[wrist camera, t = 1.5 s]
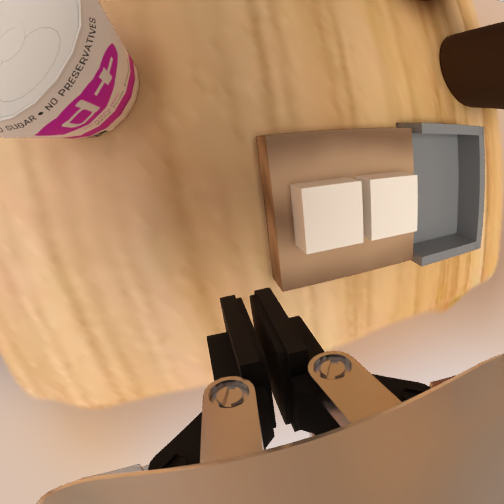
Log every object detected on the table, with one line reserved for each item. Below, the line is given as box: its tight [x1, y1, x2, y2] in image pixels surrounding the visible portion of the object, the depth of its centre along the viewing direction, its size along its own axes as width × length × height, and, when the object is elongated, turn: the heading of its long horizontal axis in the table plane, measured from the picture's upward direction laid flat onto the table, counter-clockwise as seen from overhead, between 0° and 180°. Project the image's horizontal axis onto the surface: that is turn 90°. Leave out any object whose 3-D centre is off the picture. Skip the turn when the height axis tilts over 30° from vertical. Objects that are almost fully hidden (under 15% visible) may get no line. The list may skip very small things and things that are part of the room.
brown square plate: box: [256, 128, 414, 291], centre depth 28 cm, size 13×14×3 cm
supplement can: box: [0, 0, 139, 139], centre depth 15 cm, size 8×8×15 cm
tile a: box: [290, 177, 363, 254], centre depth 25 cm, size 5×5×2 cm
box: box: [396, 123, 485, 266], centre depth 29 cm, size 14×10×4 cm
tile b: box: [354, 171, 418, 241], centre depth 26 cm, size 5×5×2 cm
